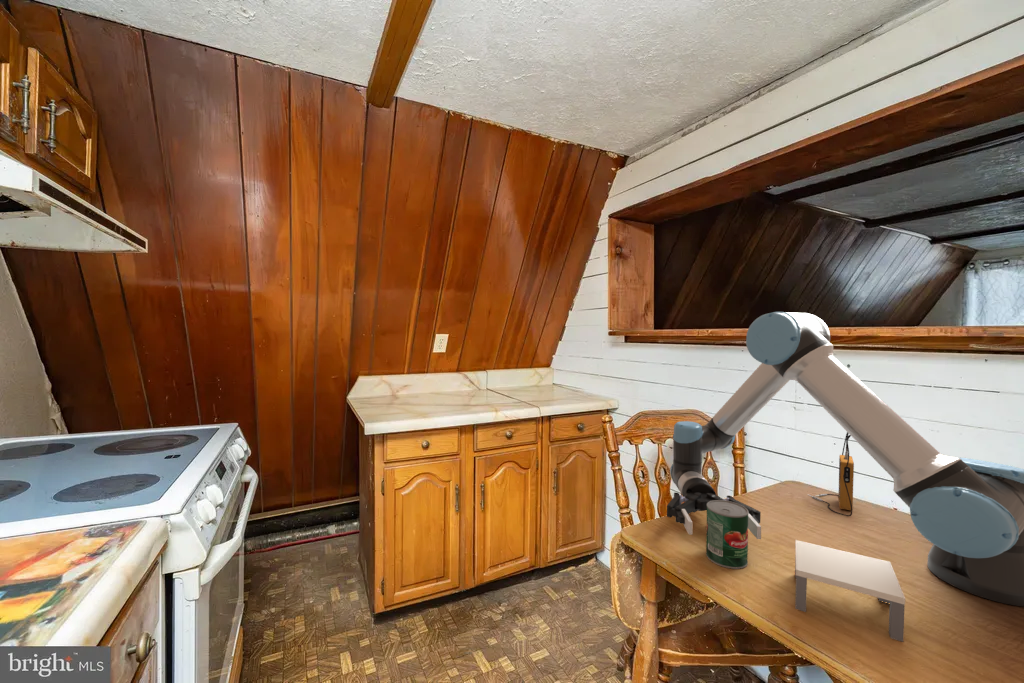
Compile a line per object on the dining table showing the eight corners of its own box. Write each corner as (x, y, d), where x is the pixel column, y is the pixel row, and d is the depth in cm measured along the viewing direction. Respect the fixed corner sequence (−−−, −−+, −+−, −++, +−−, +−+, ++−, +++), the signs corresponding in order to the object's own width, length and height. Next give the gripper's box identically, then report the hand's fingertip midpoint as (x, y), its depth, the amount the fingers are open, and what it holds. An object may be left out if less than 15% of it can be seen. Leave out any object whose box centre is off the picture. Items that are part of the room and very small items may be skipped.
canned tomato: (711, 544, 94) (712, 496, 94) (751, 556, 89) (752, 506, 89) (701, 560, 88) (702, 508, 88) (743, 574, 83) (744, 519, 83)
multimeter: (806, 490, 125) (808, 423, 124) (850, 498, 119) (851, 428, 118) (806, 507, 113) (807, 434, 112) (854, 517, 107) (856, 440, 106)
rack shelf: (888, 599, 75) (890, 561, 75) (903, 642, 65) (905, 598, 65) (794, 574, 83) (795, 539, 83) (795, 608, 73) (796, 569, 73)
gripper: (747, 508, 108) (788, 552, 87) (647, 502, 112) (662, 543, 91) (748, 479, 108) (789, 517, 87) (647, 474, 112) (663, 509, 91)
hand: (724, 530), depth 89 cm, fingers open, 13 cm apart
